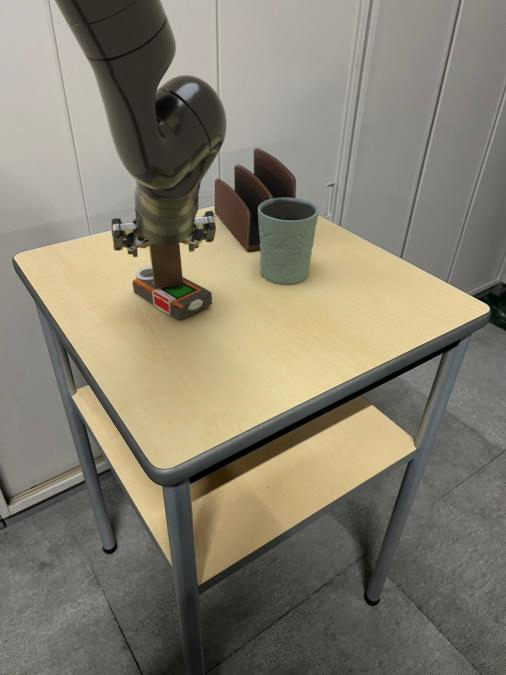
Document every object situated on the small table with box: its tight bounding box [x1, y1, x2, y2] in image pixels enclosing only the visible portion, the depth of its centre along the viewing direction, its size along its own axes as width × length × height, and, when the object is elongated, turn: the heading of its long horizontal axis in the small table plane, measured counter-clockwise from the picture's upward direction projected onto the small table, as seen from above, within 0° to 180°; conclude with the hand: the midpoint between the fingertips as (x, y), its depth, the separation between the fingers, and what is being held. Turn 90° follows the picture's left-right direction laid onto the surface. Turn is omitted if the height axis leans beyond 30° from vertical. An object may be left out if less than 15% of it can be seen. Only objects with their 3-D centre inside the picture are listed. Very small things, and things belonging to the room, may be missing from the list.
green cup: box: [258, 197, 320, 286], centre depth 89 cm, size 10×10×12 cm
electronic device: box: [131, 266, 213, 321], centre depth 84 cm, size 7×3×15 cm
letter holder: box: [213, 147, 297, 252], centre depth 102 cm, size 10×20×14 cm, turn 22°
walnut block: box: [148, 243, 184, 289], centre depth 81 cm, size 4×4×8 cm
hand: (162, 248), depth 79 cm, fingers open, 8 cm apart
